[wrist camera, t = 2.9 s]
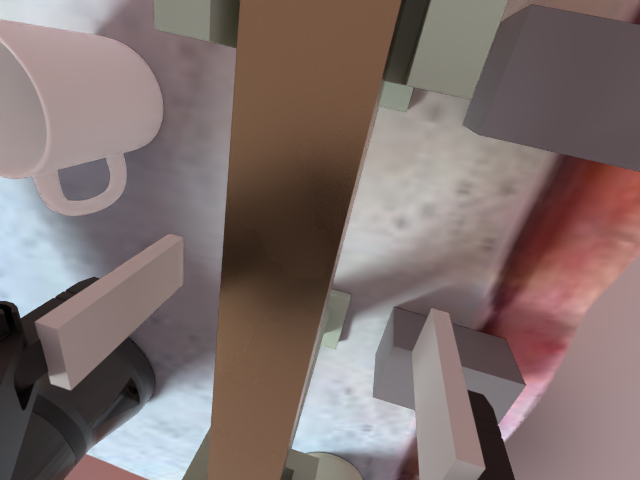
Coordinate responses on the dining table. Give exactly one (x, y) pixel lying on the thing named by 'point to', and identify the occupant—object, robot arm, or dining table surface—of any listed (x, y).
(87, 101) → the cup
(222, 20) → the forked stands
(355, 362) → the dining table surface
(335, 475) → the can
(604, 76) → the rubber blocks
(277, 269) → the rail
